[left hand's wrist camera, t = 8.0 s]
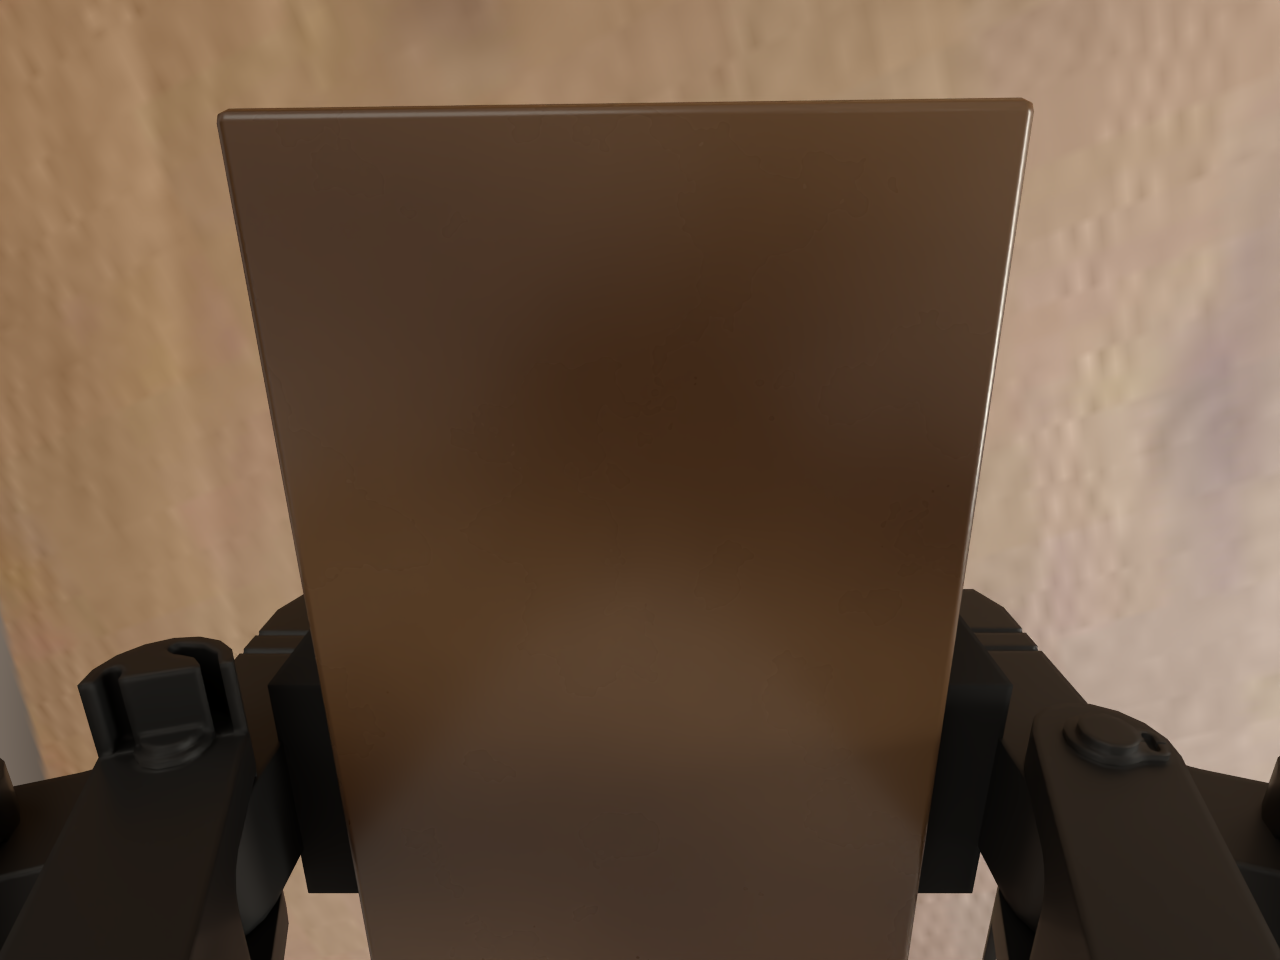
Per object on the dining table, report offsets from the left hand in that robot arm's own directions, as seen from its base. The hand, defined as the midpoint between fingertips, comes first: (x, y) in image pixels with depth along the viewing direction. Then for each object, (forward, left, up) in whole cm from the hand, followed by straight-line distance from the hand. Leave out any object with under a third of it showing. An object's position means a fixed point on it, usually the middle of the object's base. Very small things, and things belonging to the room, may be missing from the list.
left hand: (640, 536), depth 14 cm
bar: (+20, +4, -1) cm, 21 cm away
